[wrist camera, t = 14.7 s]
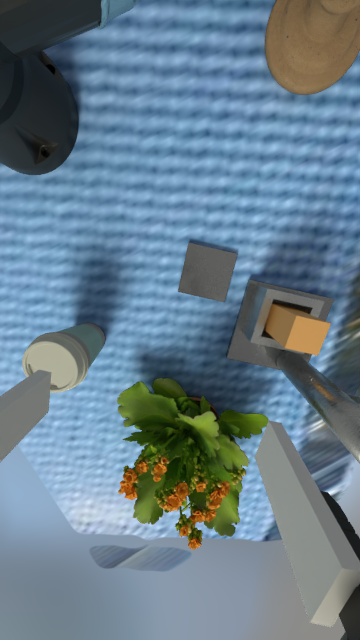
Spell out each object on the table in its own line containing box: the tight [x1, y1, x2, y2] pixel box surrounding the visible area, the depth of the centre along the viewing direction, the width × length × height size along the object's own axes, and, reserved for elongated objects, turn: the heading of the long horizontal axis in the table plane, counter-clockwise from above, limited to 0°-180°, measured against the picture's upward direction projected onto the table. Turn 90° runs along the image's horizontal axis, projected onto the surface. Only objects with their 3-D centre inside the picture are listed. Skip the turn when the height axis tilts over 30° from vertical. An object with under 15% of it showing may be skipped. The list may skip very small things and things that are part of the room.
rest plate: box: [178, 243, 238, 302], centre depth 37 cm, size 8×8×1 cm
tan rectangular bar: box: [264, 301, 331, 356], centre depth 32 cm, size 4×4×12 cm
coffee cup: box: [22, 323, 105, 393], centre depth 35 cm, size 8×9×12 cm
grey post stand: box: [226, 280, 360, 463], centre depth 28 cm, size 14×19×22 cm
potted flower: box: [117, 378, 268, 549], centre depth 36 cm, size 25×24×18 cm
